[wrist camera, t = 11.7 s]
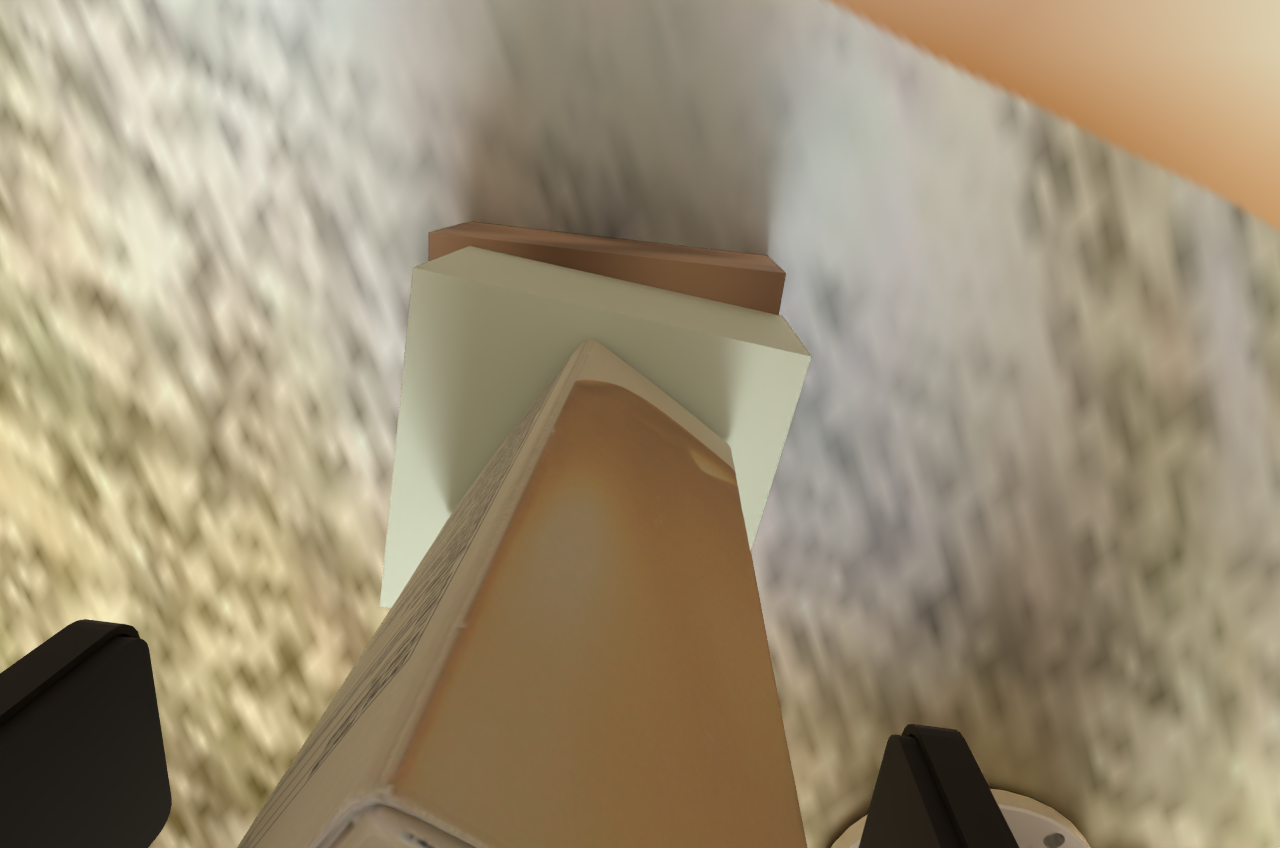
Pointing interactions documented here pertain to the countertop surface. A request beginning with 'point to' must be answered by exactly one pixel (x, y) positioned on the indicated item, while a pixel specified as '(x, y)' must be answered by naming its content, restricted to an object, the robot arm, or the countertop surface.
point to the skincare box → (564, 655)
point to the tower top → (538, 348)
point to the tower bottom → (631, 261)
